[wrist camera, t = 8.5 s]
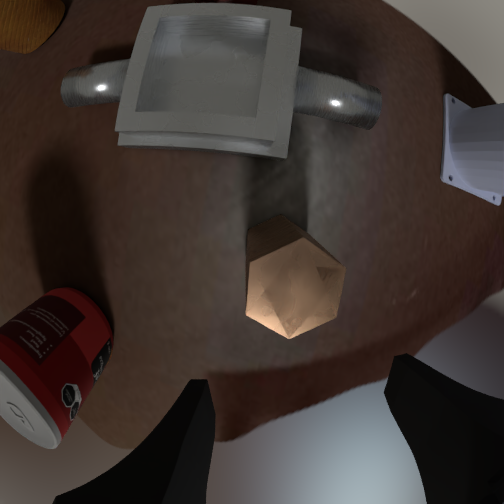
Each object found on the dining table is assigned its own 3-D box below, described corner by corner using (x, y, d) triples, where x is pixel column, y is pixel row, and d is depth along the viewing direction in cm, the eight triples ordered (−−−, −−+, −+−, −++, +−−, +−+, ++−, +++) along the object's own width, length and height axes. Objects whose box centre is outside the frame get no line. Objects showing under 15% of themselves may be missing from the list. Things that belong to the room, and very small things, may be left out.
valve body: (364, 35, 14) (390, 9, 9) (355, 175, 17) (387, 175, 12) (106, 19, 12) (82, -5, 8) (73, 149, 15) (35, 146, 11)
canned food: (83, 370, 21) (32, 448, 10) (35, 303, 19) (-39, 364, 8) (134, 349, 20) (80, 451, 9) (78, 268, 18) (-18, 337, 7)
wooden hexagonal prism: (310, 216, 17) (350, 241, 11) (302, 283, 18) (330, 339, 12) (249, 211, 17) (252, 233, 10) (244, 280, 18) (244, 337, 12)
